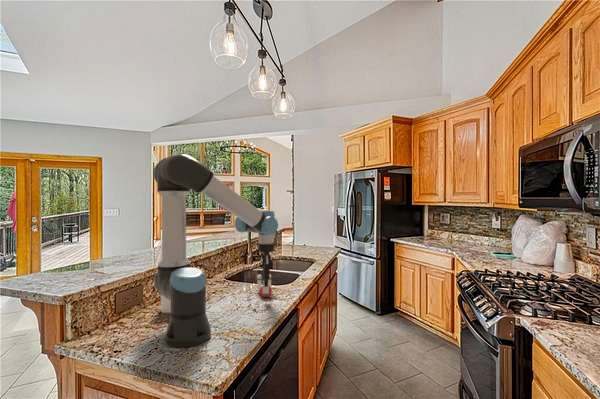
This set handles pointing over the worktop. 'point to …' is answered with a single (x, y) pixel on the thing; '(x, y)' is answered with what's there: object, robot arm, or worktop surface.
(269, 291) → the ball
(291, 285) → the worktop surface
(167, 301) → the jar
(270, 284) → the pin
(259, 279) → the pin
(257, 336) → the worktop surface
